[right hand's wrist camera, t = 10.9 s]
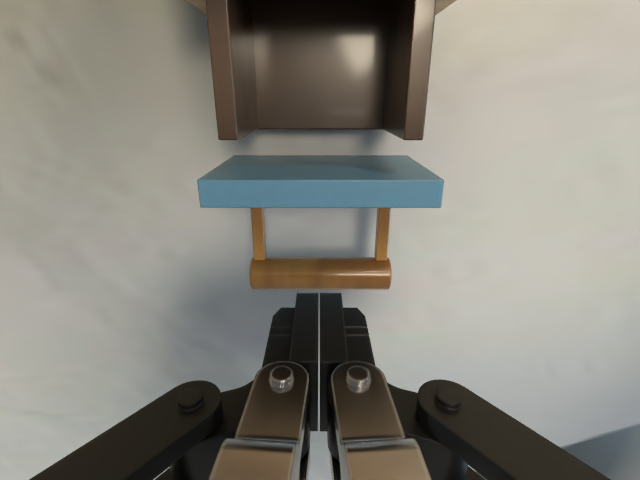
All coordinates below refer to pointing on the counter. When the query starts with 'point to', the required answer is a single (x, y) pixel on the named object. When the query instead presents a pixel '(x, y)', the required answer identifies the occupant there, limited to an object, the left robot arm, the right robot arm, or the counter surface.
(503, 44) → the counter surface
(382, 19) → the drawer
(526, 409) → the counter surface
